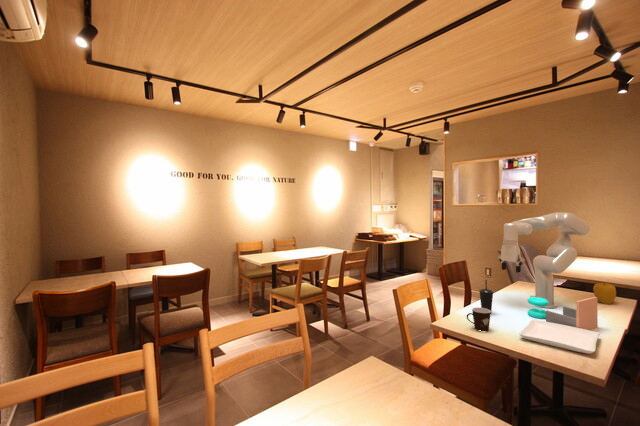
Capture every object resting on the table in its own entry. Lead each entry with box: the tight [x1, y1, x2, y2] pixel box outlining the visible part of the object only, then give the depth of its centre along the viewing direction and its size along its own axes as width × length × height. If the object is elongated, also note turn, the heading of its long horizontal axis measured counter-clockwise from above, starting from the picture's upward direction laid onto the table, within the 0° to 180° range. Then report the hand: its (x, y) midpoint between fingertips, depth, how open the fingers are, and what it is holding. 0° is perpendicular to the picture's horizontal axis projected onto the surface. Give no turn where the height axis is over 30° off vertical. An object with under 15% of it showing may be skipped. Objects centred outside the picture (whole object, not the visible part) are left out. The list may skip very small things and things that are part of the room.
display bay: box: [545, 296, 599, 331], centre depth 162 cm, size 15×16×16 cm
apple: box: [592, 282, 617, 305], centre depth 198 cm, size 11×11×13 cm
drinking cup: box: [478, 279, 494, 312], centre depth 183 cm, size 8×8×20 cm
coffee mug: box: [466, 307, 492, 332], centre depth 161 cm, size 12×9×10 cm
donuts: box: [527, 296, 549, 320], centre depth 178 cm, size 10×10×10 cm
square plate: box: [519, 319, 601, 354], centre depth 147 cm, size 27×27×4 cm
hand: (510, 270), depth 192 cm, fingers open, 8 cm apart
